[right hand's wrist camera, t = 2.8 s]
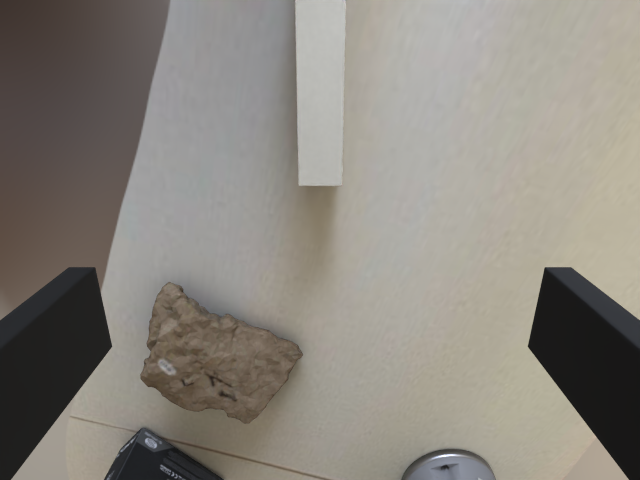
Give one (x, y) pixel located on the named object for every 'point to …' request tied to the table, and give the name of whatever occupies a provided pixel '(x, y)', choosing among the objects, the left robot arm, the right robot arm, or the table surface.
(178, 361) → the stone
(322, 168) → the bar
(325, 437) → the table surface
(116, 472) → the graphics card box
